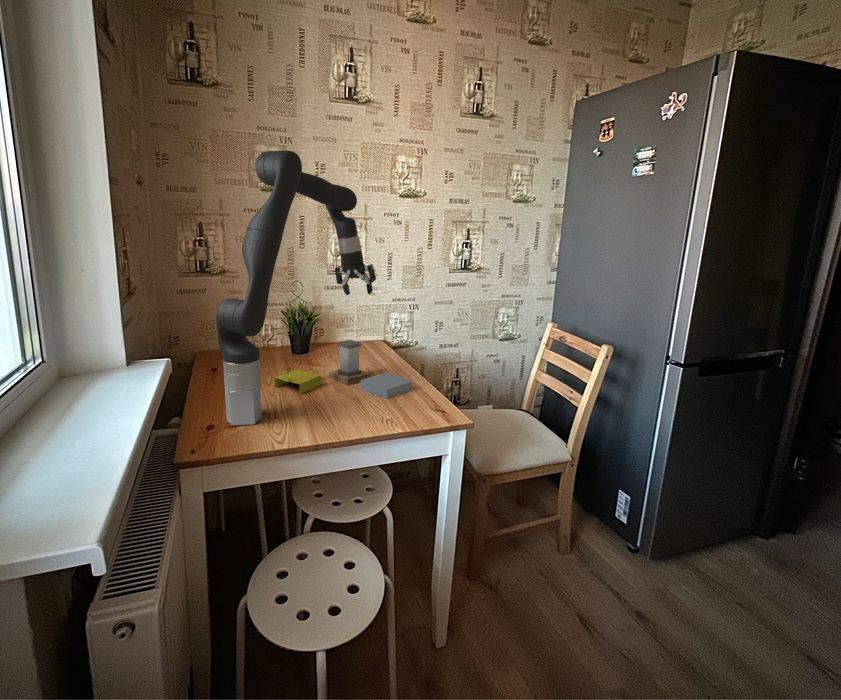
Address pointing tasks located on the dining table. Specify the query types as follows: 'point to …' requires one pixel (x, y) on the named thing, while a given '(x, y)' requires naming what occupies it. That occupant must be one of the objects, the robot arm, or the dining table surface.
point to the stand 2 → (386, 385)
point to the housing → (349, 358)
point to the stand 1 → (346, 379)
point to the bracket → (300, 379)
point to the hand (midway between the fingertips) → (359, 294)
